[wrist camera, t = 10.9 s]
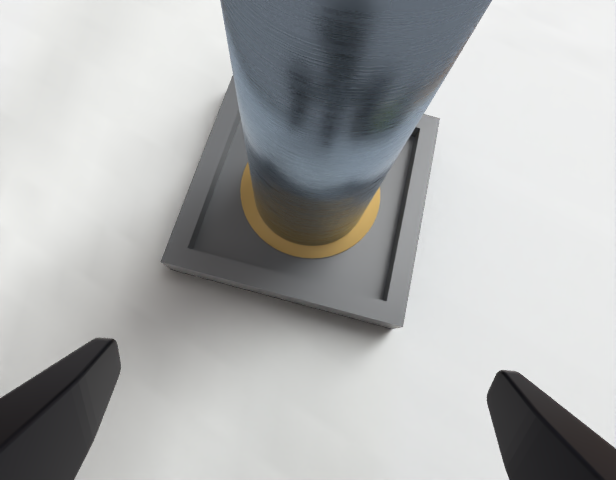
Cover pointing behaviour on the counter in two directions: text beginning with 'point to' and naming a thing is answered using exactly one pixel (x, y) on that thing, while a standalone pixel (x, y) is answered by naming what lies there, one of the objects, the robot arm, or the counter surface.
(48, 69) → the counter surface
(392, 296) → the tray
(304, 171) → the spout can
